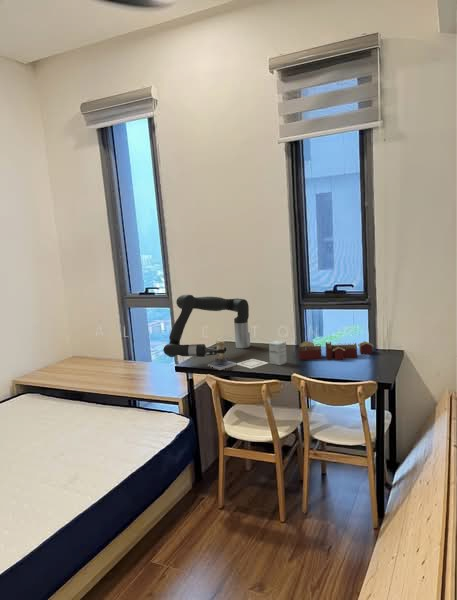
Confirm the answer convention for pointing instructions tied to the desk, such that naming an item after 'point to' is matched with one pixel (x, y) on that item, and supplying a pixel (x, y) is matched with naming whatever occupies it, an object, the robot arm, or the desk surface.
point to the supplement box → (277, 352)
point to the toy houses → (332, 351)
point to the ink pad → (222, 365)
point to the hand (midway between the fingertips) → (225, 350)
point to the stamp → (220, 355)
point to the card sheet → (252, 363)
